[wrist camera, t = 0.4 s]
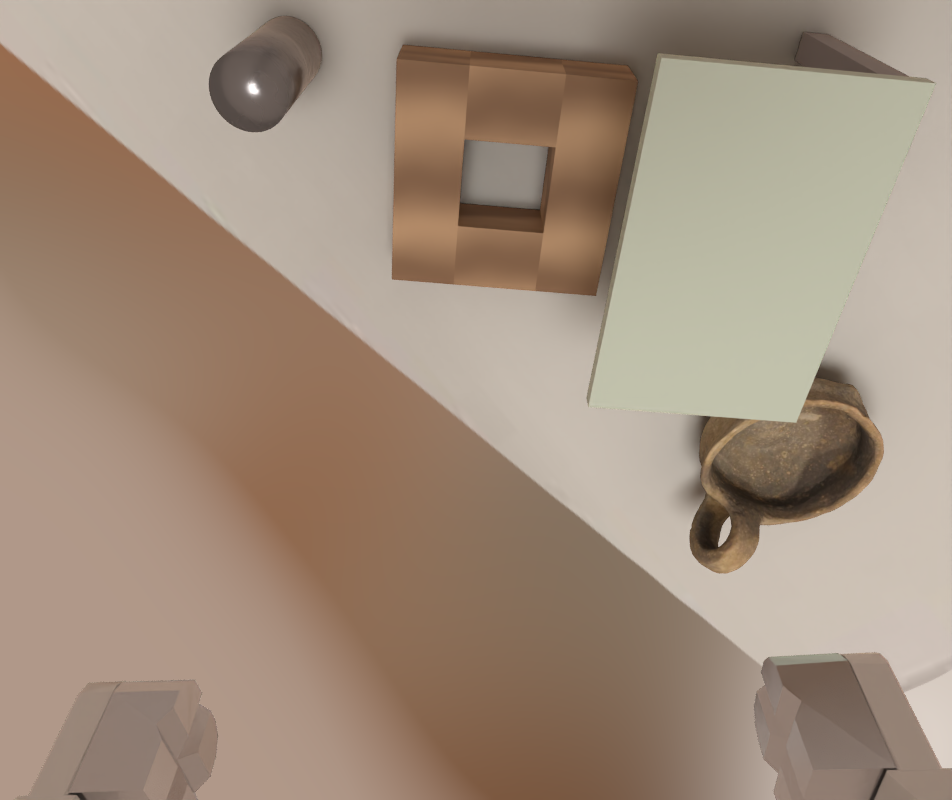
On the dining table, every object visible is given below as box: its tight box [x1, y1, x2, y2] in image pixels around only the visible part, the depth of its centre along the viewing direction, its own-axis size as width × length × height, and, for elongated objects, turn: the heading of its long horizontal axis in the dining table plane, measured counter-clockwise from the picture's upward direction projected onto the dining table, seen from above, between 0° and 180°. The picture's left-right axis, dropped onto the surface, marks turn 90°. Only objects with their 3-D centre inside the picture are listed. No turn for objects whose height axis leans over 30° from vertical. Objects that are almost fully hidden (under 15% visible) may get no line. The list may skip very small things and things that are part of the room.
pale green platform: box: [587, 32, 936, 423], centre depth 46 cm, size 20×13×13 cm, turn 175°
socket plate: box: [392, 45, 638, 296], centre depth 50 cm, size 14×14×4 cm
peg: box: [209, 16, 322, 132], centre depth 43 cm, size 4×4×10 cm
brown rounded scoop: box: [690, 378, 884, 573], centre depth 60 cm, size 14×18×10 cm
